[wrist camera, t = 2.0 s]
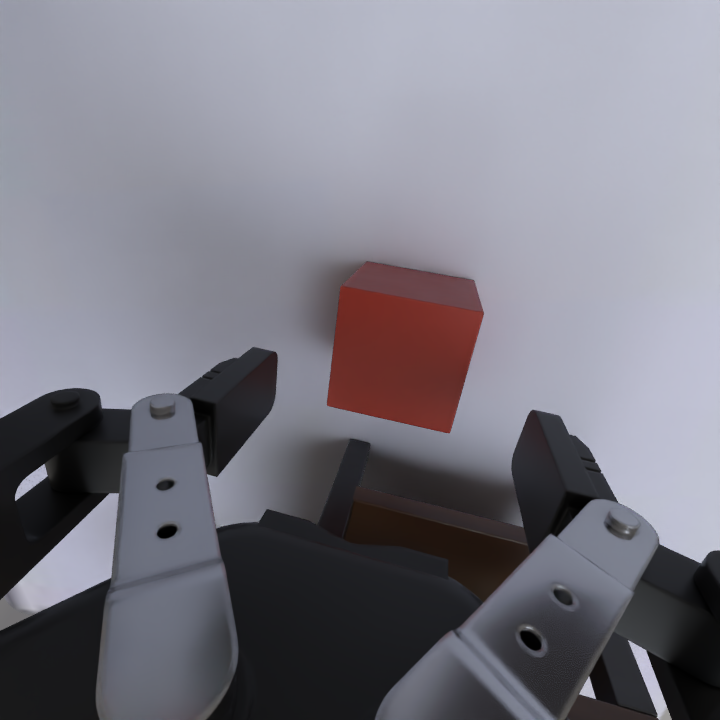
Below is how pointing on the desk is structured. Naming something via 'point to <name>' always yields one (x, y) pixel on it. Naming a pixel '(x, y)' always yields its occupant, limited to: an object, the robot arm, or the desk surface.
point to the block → (403, 344)
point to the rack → (472, 569)
